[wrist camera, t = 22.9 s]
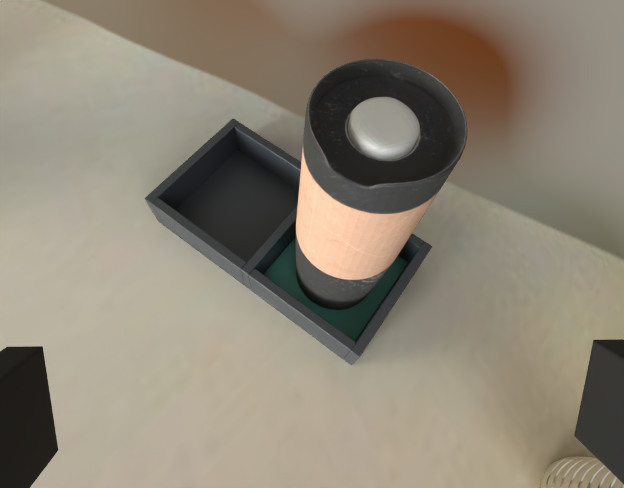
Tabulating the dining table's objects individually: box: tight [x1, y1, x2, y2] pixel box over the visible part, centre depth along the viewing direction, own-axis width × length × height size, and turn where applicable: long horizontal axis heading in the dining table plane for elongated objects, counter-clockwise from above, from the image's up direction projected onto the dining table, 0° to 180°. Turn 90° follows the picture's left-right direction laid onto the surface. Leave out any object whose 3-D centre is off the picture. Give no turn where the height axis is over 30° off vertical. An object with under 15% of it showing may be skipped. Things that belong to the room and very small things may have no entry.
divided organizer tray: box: [145, 119, 432, 365], centre depth 36 cm, size 22×12×4 cm, turn 54°
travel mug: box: [296, 59, 467, 310], centre depth 27 cm, size 8×8×20 cm
